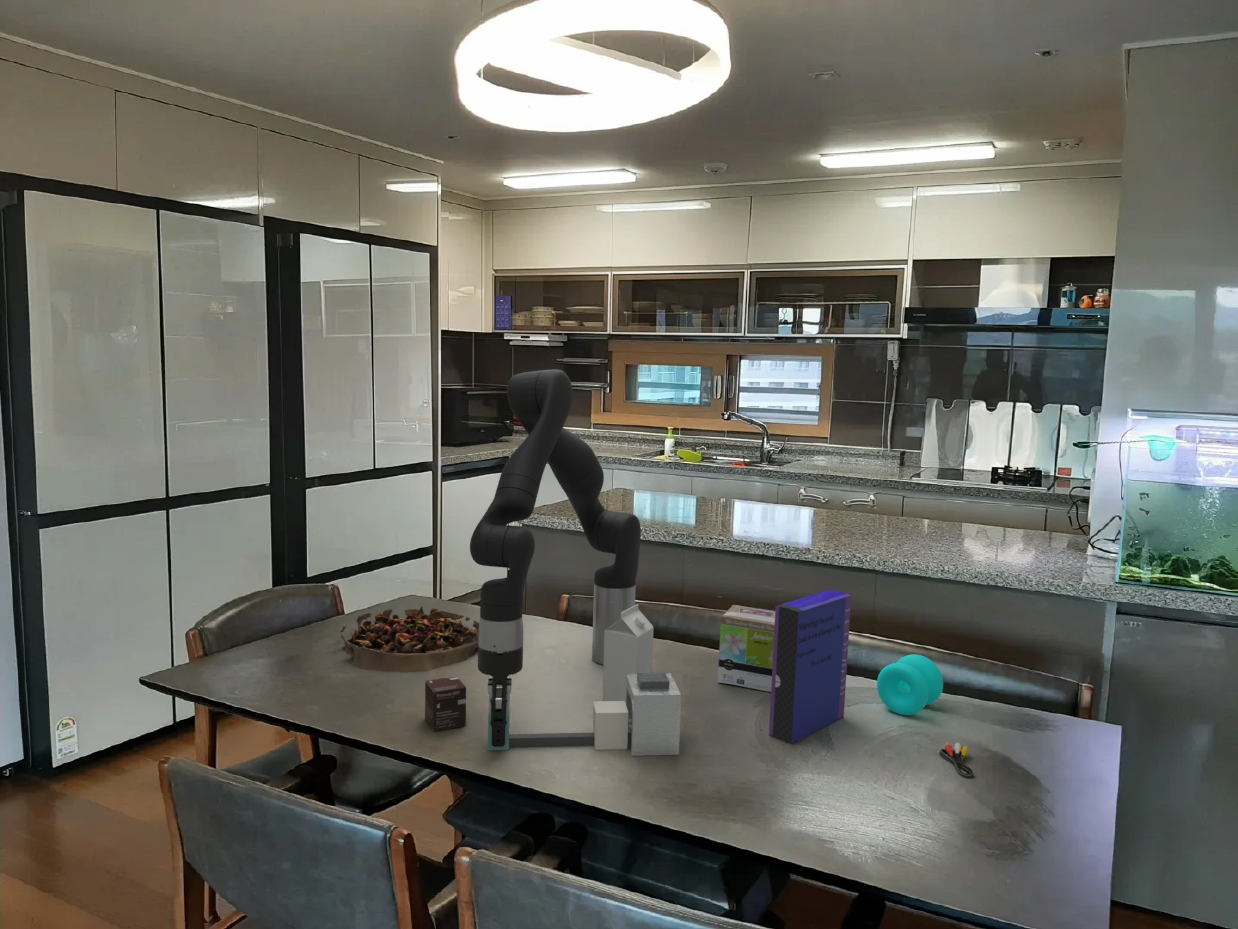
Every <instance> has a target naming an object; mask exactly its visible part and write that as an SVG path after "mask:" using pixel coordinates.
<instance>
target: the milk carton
mask: <svg viewBox="0 0 1238 929" xmlns="http://www.w3.org/2000/svg"><path fill="white" fill-rule="evenodd" d="M653 655H654V626H653V624H652V623H651V622H650V621H649V620H648V619H647V617H646V616H645V615H644V614H643V613H642V612H641V610H640V609H639V604H638V603H637V604H635V606H633V607H631V608H629V609H627V610H625V611H623V612H621V618H620V619H619V620H618V621H616V622H615V623H614V624H612V625H611V626H610V627H608V628H607V629H606V630H605V632H604V665H603V669H602V670H603V672H602V673H603V676H602V701H625V699H626V674H637V673H653V658H654V657H653Z"/></svg>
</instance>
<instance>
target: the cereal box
mask: <svg viewBox="0 0 1238 929" xmlns="http://www.w3.org/2000/svg"><path fill="white" fill-rule="evenodd" d="M851 605H852V595H851V594H848V593H846V592H843V591H839V590H831V589H827V590H824V591H820V592H818V593H814V594H811V595H807V596H804V597H801V598H797V599H795V600H791V601H788V602H784V603H781V604H777V605H775V608H774V609H775V610H774V611H775V627H774V646H773V666H772V685H771V692H770V709H769V726H768V736H769V737H771V738H774V739H777V740H779V741H782V742H783V743H785V744H786V743H787V744H788V745H793V744H795V743H798V742H799V741H801V740H803V739H806V738H807V737H809V736H811V735H812V734H815V733H817V732H820V731H821V730H823V729H825V728H826V727H828V726H830V725H832V724H834V723H836V722H838V721H840V720H842V719H844V718H845V715H844V714H845V704H846V702H845V701H846V688H847V687H846V685H847V683H846V682H847V671H848V668H847V667H848V653H849V652H848V651H849V639H850V638H849V636H850V621H851Z"/></svg>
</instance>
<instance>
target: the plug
mask: <svg viewBox="0 0 1238 929" xmlns="http://www.w3.org/2000/svg"><path fill="white" fill-rule="evenodd" d="M592 703H593V705H592V706H593V708H592V709H593V711H592V732H558V733H557V732H556V733H555V732H551V733H513V734H512V733H510V721H511V720H510V717H511V716H510V715H511V714H510V713H511V711H510V710H511V709H510V706H509V711H507V712H506V720H507V724H506V726H505V745H504V746H503V747H493V746H492V727H491V724H490V721H491V712H490V711H489V710H488V714H487V715H488V716H487V718H488V719H487V722H488V724H487V751H507V750H508V751H510V748H533V747H534V748H538V747H539V748H540V747H544V748H545V747H579V746H580V747H582V746H583V747H586V746H589V747H590V746H594V750H595V751H599V750H600V751H604V750H605V751H607V750H628V734H629V733H628V730H632V725H628V724H632V719H628V710H627V707H626V703H625V701H603V700H602V701H601V700H598V701H597V700H596V701H593V702H592ZM494 718H503V717H494Z"/></svg>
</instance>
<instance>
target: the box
mask: <svg viewBox="0 0 1238 929" xmlns="http://www.w3.org/2000/svg"><path fill="white" fill-rule="evenodd" d="M424 684H425V685H424V686H425V687H424V692H425V693H424V694H425V695H424V720H425V721H426V723H427V724H429V726H430V728H431V729H432V731H433V732H438V731H444V730H450V729H456V728H461V727H465V726H466V725H467V686H465V684H464V683H463V682H462V681H461V680H460V679H459V677H457V676H454V677H442V678H437V679H431V680H425V683H424Z"/></svg>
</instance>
